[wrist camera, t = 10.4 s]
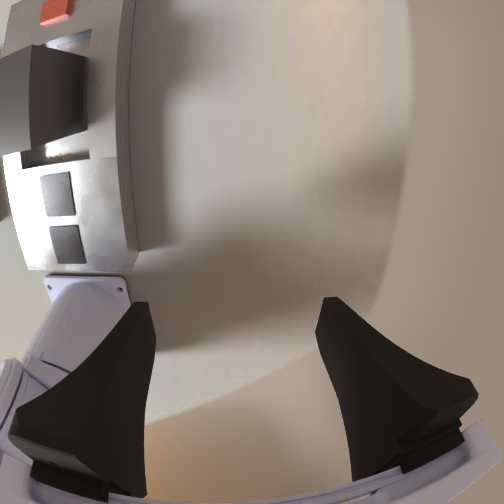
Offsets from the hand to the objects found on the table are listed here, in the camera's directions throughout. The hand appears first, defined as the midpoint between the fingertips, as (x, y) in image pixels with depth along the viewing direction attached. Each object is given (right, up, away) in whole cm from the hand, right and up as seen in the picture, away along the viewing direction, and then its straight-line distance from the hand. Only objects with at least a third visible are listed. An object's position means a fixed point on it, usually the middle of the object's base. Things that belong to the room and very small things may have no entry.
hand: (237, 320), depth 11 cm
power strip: (-12, +11, +3) cm, 16 cm away
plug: (-11, +12, +1) cm, 17 cm away
